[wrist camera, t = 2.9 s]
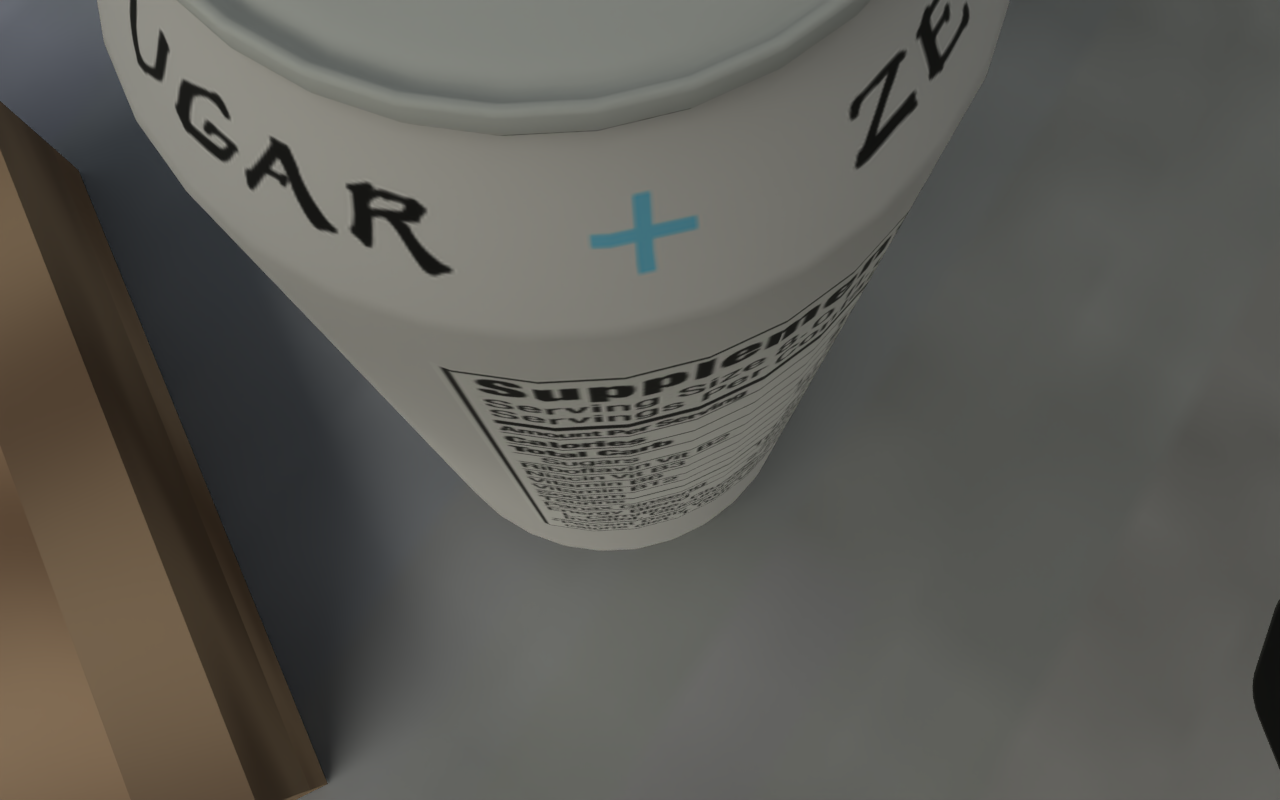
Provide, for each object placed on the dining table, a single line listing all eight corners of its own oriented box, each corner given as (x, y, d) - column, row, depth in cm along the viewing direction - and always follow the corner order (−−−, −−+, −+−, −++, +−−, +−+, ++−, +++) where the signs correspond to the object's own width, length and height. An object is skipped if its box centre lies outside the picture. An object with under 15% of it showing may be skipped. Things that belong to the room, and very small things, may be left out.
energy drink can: (667, 167, 21) (714, -906, 7) (848, 441, 20) (1373, -149, 6) (379, 329, 21) (-250, -474, 6) (549, 624, 20) (271, 488, 5)
